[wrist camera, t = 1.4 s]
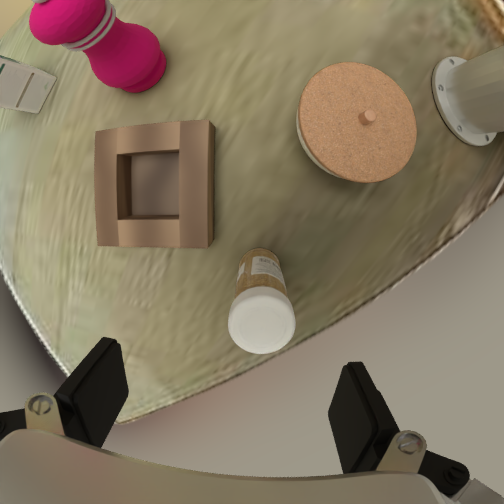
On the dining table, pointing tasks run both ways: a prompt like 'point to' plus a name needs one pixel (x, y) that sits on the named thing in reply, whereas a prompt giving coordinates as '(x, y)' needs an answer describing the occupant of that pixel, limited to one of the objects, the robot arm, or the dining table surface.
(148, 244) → the socket block
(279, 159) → the dining table surface
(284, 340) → the sprinkles bottle
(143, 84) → the pepper mill
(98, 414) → the robot arm
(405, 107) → the lidded jar
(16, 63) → the syrup box
